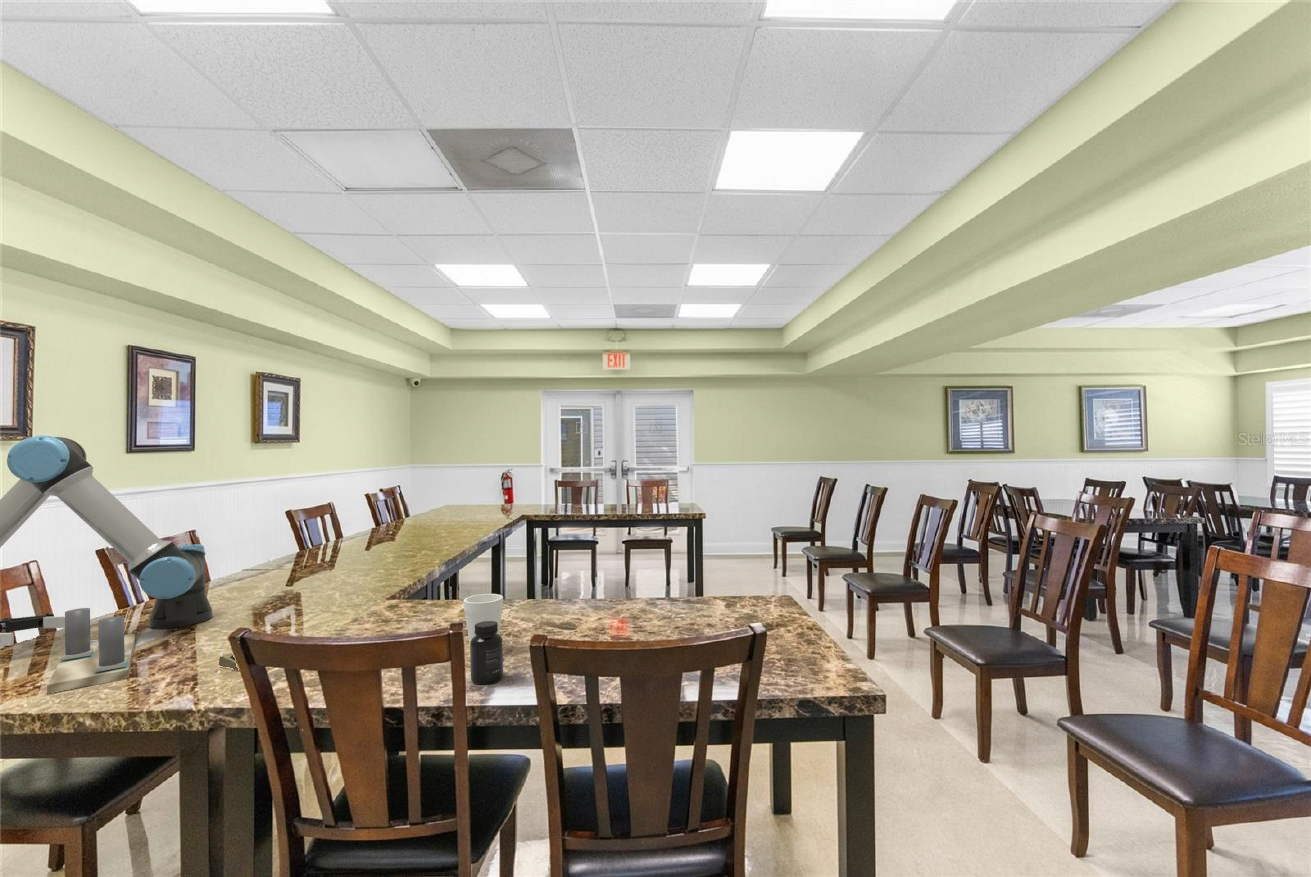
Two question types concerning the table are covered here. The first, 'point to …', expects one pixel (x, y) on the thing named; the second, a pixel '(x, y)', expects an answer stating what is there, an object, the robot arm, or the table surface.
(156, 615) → the robot arm
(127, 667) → the switch bank
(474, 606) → the foam cup
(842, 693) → the table surface
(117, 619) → the grey tall block
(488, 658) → the supplement bottle
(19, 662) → the table surface
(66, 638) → the grey upright block
